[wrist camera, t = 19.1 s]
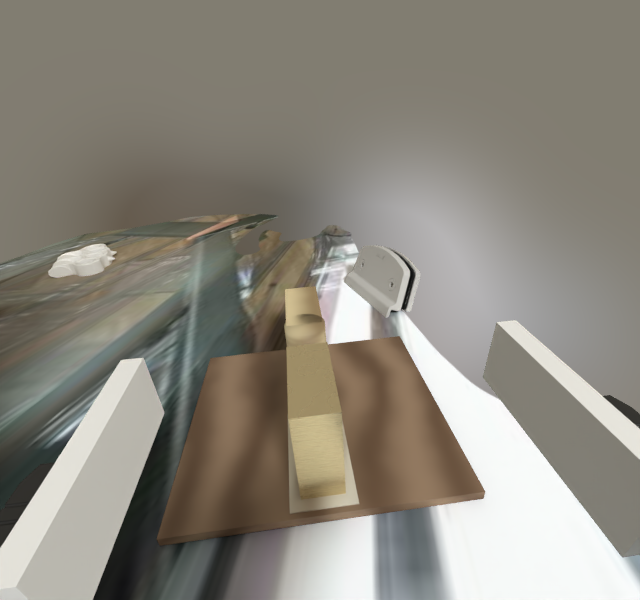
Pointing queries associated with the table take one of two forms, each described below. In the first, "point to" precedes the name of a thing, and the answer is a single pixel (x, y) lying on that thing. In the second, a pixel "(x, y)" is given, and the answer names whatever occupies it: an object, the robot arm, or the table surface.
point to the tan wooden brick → (315, 421)
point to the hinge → (384, 279)
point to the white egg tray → (83, 261)
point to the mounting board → (276, 445)
